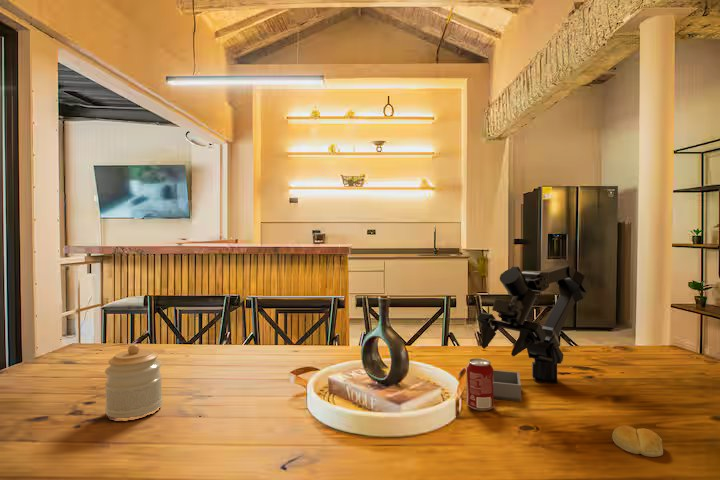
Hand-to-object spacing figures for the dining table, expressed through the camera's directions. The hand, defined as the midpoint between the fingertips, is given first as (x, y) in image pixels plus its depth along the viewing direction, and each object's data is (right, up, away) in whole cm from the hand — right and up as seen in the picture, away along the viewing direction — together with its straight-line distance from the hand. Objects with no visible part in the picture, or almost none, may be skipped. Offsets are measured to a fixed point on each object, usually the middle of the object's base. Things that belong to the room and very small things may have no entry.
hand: (497, 351), depth 112 cm
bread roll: (+22, -14, -25) cm, 36 cm away
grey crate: (+3, -13, +5) cm, 14 cm away
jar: (-96, -15, -5) cm, 97 cm away
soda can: (-6, -14, -4) cm, 15 cm away
